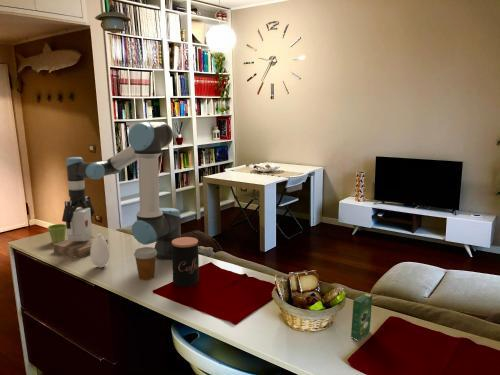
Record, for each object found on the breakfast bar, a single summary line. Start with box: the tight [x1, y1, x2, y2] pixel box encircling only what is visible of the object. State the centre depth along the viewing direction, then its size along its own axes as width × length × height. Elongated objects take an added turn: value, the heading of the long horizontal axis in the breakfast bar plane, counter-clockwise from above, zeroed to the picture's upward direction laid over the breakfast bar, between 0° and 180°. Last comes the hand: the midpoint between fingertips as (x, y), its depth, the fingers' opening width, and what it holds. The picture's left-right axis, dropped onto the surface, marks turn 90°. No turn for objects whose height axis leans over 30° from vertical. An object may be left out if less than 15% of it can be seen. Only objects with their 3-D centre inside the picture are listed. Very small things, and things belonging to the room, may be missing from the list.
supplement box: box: [66, 207, 93, 241], centre depth 208 cm, size 9×9×15 cm
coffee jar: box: [171, 236, 200, 288], centre depth 170 cm, size 11×11×18 cm
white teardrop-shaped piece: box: [89, 228, 110, 269], centre depth 186 cm, size 8×8×18 cm
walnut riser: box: [52, 235, 109, 259], centre depth 210 cm, size 18×18×4 cm
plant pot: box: [47, 223, 67, 245], centre depth 221 cm, size 9×9×9 cm
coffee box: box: [350, 292, 373, 341], centre depth 132 cm, size 8×3×13 cm, turn 137°
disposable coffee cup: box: [133, 246, 157, 281], centre depth 176 cm, size 10×10×12 cm
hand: (80, 231), depth 208 cm, fingers closed on supplement box, 11 cm apart
